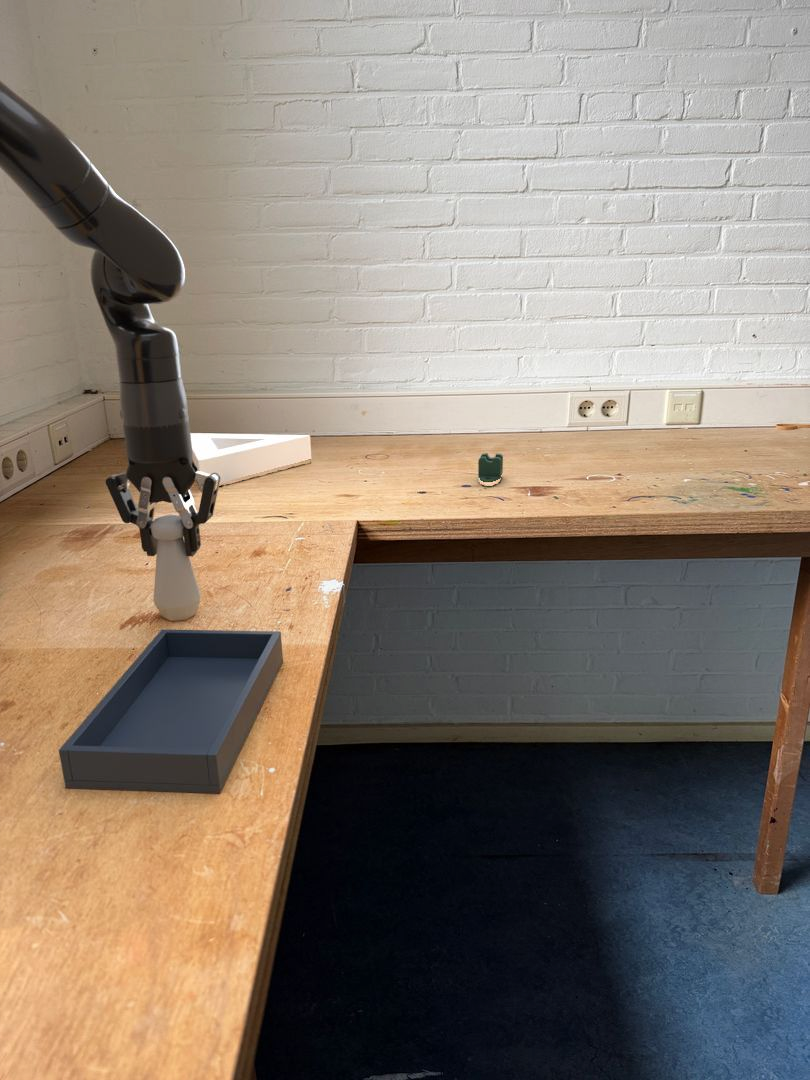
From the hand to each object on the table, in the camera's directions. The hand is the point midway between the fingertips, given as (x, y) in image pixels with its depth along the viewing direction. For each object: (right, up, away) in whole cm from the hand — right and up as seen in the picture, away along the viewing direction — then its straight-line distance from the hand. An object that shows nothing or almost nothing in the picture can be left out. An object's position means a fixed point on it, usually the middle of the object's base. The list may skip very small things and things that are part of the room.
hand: (172, 553), depth 100 cm
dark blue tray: (+8, -16, -21) cm, 27 cm away
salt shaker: (0, -8, +3) cm, 8 cm away
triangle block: (-9, +15, +71) cm, 73 cm away
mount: (+47, +14, +63) cm, 80 cm away
